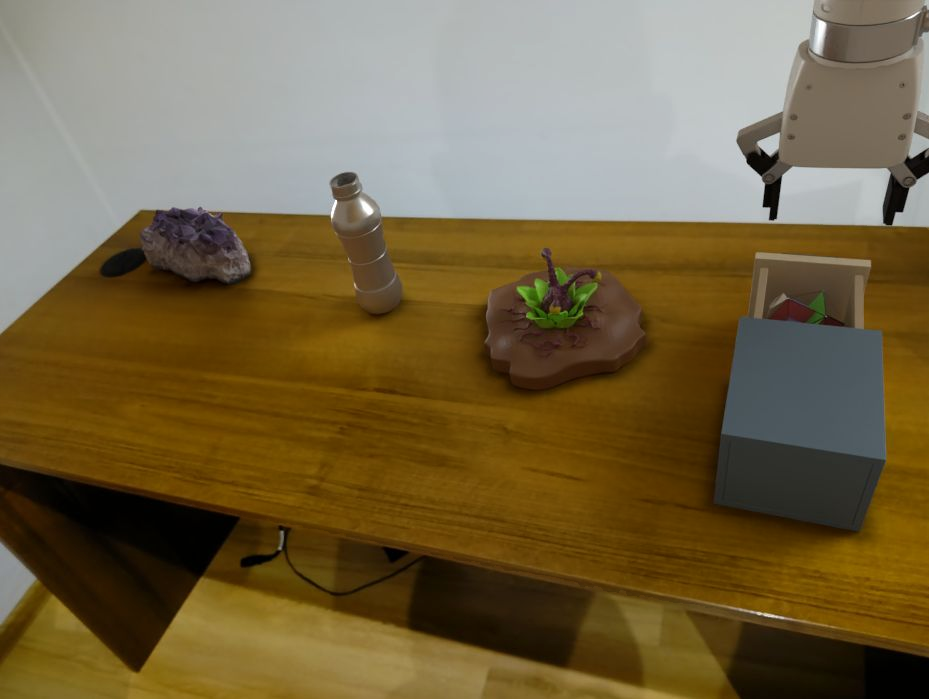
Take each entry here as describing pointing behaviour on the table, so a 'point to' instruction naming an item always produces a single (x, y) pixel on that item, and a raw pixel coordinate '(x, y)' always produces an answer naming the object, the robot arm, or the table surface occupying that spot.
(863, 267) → the drawer
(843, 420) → the cabinet
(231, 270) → the geode
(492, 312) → the plant
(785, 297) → the geometric puzzle
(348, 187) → the plastic bottle
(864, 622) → the table surface
